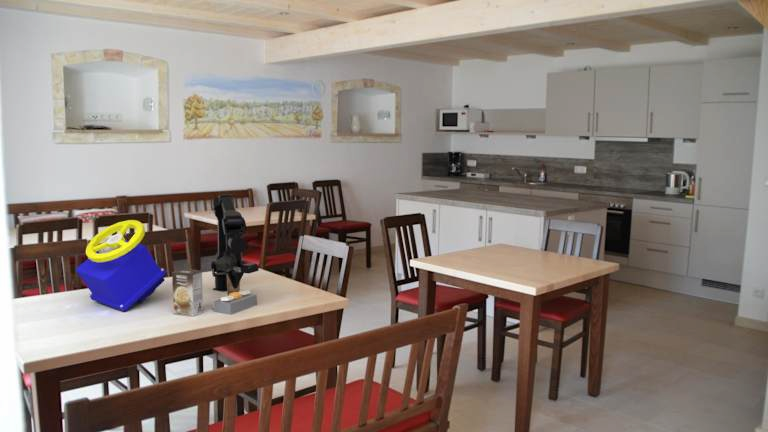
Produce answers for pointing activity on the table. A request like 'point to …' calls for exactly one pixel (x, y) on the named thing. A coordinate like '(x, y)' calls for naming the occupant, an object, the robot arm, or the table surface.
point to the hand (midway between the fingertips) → (235, 288)
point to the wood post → (231, 287)
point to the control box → (120, 267)
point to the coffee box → (187, 292)
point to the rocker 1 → (227, 298)
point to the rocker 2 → (244, 292)
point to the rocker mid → (235, 295)
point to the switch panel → (235, 304)
